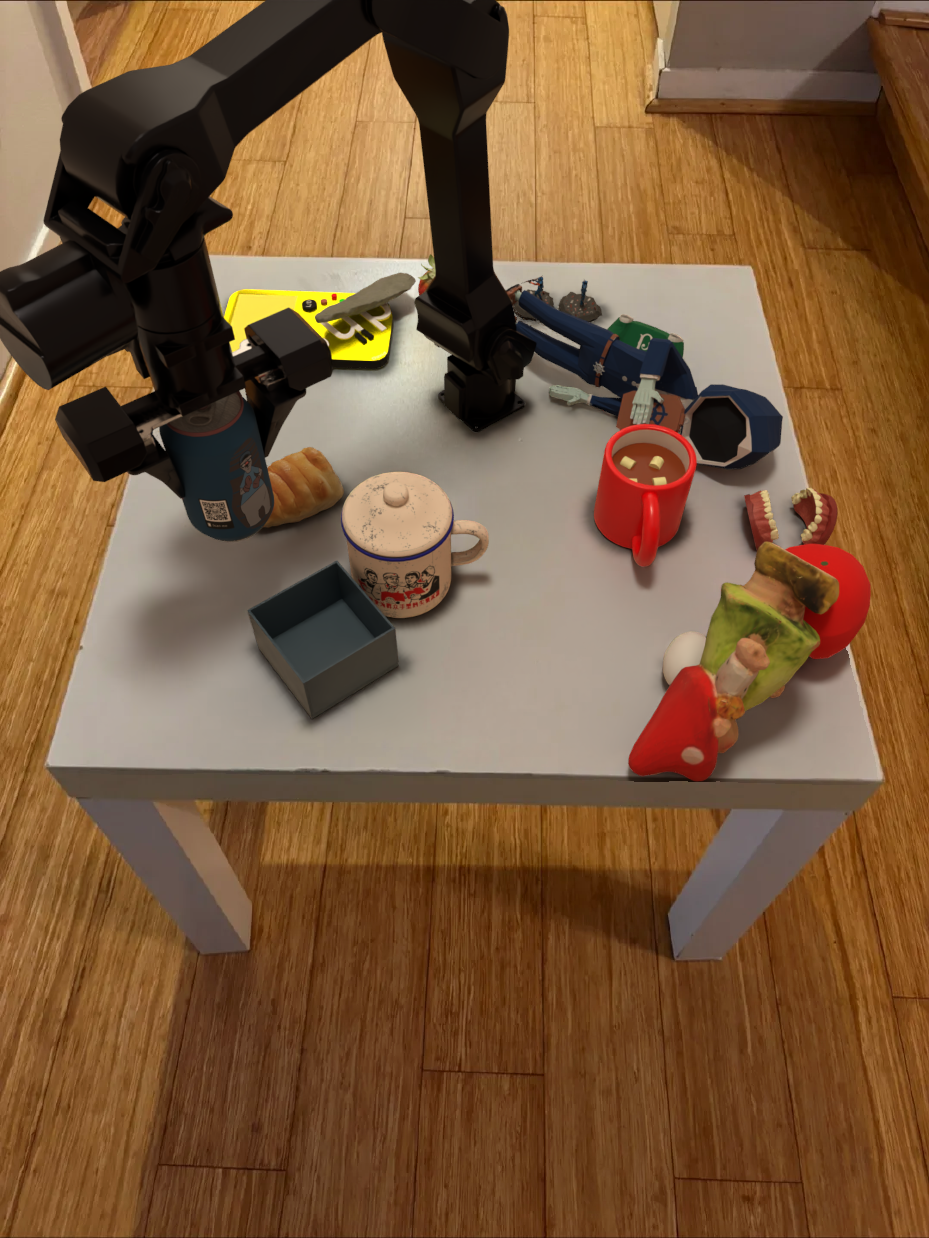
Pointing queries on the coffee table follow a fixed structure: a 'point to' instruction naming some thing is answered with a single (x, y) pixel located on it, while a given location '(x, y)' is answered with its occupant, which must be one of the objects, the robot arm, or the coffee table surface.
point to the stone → (368, 297)
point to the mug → (644, 488)
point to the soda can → (221, 468)
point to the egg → (683, 654)
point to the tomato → (852, 600)
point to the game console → (347, 338)
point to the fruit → (427, 276)
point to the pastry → (302, 486)
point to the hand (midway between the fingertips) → (222, 473)
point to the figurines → (565, 302)
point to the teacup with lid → (404, 542)
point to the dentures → (807, 503)
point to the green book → (642, 334)
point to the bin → (324, 638)
